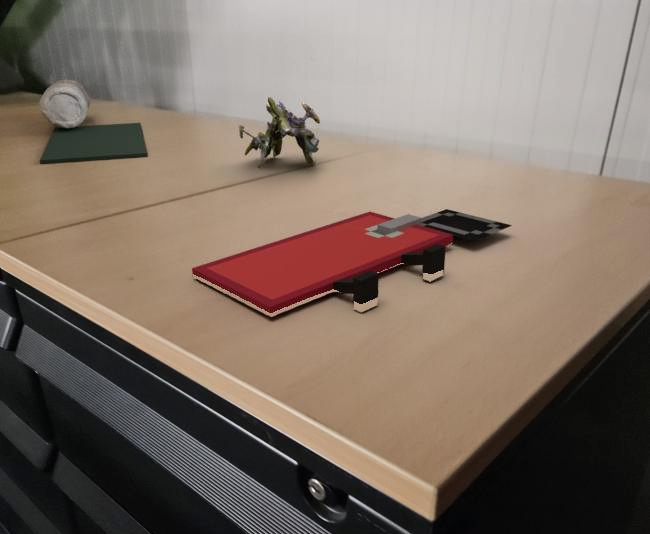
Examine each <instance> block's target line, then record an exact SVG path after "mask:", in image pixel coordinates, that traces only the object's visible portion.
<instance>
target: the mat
mask: <svg viewBox="0 0 650 534" xmlns="http://www.w3.org/2000/svg"><path fill="white" fill-rule="evenodd" d="M146 157H149V154H148V149H147V145H146V141H145V137H144V133H143V129H142V124H141V122H128V123H127V122H126V123H112V124H111V123H110V124H94V125H91V124H90V125H78V126H76V127H74V128H61V127H57V126H55V127H54V128H53V130H52V133H51V135H50V137H49V139H48V141H47V143H46V146H45V148H44V150H43V152H42V155H41V156H40V159H39V164H40V165H46V164H63V163H74V162H76V163H77V162H90V161H104V160H117V159H133V158H146Z"/></svg>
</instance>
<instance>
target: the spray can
mask: <svg viewBox="0 0 650 534" xmlns="http://www.w3.org/2000/svg"><path fill="white" fill-rule="evenodd" d="M38 103H39V112H40V113H41V115H42V116H43V117H44V118H45V119H46V120H47V121H48V122H49V123H50V124H51V125H52V126H54V127H61V128H74V127H76V126H81V124H83V123H84V122H85V120H86V118H87V115H88V112H89V108H90V105H91V99H90V96H89V94H88V91H87V90H86V89H85V87H83V85H82V84H81V83H80V82H78V81H77V80H74V79H72V78H62V79H59V80H57V81H54V82H53V83H52V84H51V85H50V86H49V87H48V88H46V90H45V91H44V92H43V94H42V96H41V98H40V99H39V101H38Z"/></svg>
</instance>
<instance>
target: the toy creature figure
mask: <svg viewBox="0 0 650 534" xmlns="http://www.w3.org/2000/svg"><path fill="white" fill-rule="evenodd" d="M301 106H302V108H303V109H304V111H305V114H304V116H303V117H298V116H296V115H295V114H294V113H293V112H292V111H291V110H290V109H289V108H287V107H286V106H285V105H284V104H283V102H281V101H280V100H279V101H278V104H277V103H276V100H274V98H273V97H271V96H270V97H269V96H268V97H267V103H266V105H265V108H266V111H267V112H268V114H270V116H271V117H272V120H271V122H270V121H267V122H266V124H267V129H266V130H265V133H263V132H258V133H257V136H254V135H252V134H251V133H249V132H248V131H246V130H244V129H245V126H244V125H243V124H238V129H239V138H240V139H242V140H243V139H244V134H245V135H247V136H249V137H250V138H252V140H251V141H250V143H249V145H248V146H247V148H245V151H244V156H247V155H248V154H249V153H250V152H251V151H252V150H254V151H258V149H259V150H260V160H259V164H258V167H257V168H258V169H260V167H261V166H262V165H263V162H264V160H265V159H267V157H269V156H270V155H271V154H272V157H273V158H276V157H278V156H280V155H281V152H282V149H283V139H284V138H285V137H286V136H289V137H291V138H292V137H293V138H294V139H295V140H296V144H297V145H298V147H299V148H300V149H301V150H302V153H303V156H304V159H305V161H306V163H307V164H308V165H309V166H310V165H311V166H314V165H316V161H315V159H314V157H313V153H314V154H315V153H317V152H318V151H319V150H320V149H319V147H318V146H319V143H320V140H319V138H317V137H316V135H315V133H314V132H312V130H310V129H309V128H308V127H307V126H306V120H307V119H312V120H313V121H314V122H315V123H316V124H320V123H321V121H320V117H319V116H318V115H317V113H316V112H315V110H314V109H313V108H312V107H310V106H309V105H308V104H306V103H305V102H302V103H301Z"/></svg>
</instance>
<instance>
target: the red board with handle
mask: <svg viewBox="0 0 650 534" xmlns="http://www.w3.org/2000/svg"><path fill="white" fill-rule="evenodd" d="M512 226H513V225H512V224H509V223H505V222H501V221H497V220H493V219H489V218H484V217H480V216H476V215H472V214H469V213H464V212H460V211H456V210H451V209H448V208H446V209H443V210H440V211H437V212H435V213H431V214H429V215H426V216H423V217H420V216H417V215H414V214H410V213H407V214H404V215H402V216H401V215H400V216H399V217H396V218H394V217H392V216H388V215H384V214H381V213H376V212H374V211H366V212H363V213H360V214H358V215H354V216H350V217H348V218H345V219H342V220H339V221H335V222H332V223H329V224H326V225H323V226H320V227H316V228H314V229H310V230H308V231H304V232H301V233H298V234H293V235H292V236H288V237H285V238H282V239H279V240H275V241H272V242H269V243H267V244H263V245H261V246H256V247H254V248H251V249H247V250H245V251H241V252H238V253H235V254H231V255H229V256H225V257H223V258H219V259H217V260H213V261H210V262H207V263H204V264H200V265H197V266H193V267H192V268H191V272H192V275H193V274H194V275H196V276H198V277H201V278H203V279H205V280H207V281H209V282H211V283H212V284H215V285H217V286H219V287H221V288H222V289H225V290H227V291H229V292H230V293H233V294H235V295H237V296H239V297H240V298H242V299H244V300H246V301H249V302H251V303H252V304H254V305H256V306H257V307H259V308H261V309H264V310H265V311H267V312H269V313H273V312H275V311H277V310H280V309H282V308H284V307H288V306H290V305H292V304H295V303H297V302H300V301H302V300H305V299H307V298H310V297H313V296H315V295H318V294H321V293H324V292H327V291H330V290H332V289H334V290H337V291H339V292H342V293H341V294H346V295H348V294H349V295H352V302H353V301H355V302H357V303H359V304H363V303H366V302H368V301H370V300H373V299H375V298H377V297H378V298H379V274H378V273H377V272H381V271H383V270H385V269H389V268H390V267H393V266H395V265H397V264H400V263H404V264H407V265H406V266H422V268H421V273H422V272H423V273H428V274H434V273H436V272H438V271H441V270H444V271H445V263H446V248H447V246H446V245H448V244H451V243H453V241H454V237H456V238H457V237H458V238H461V239H464V240H468V241H471V242H477V241H479V240H482V239H484V238H486V237H488V236H491V235H493V234H496V233H498V232H500V231H501V232H502V231H503V230H506V229H508V228H510V227H512ZM451 245H452V244H451Z"/></svg>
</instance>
